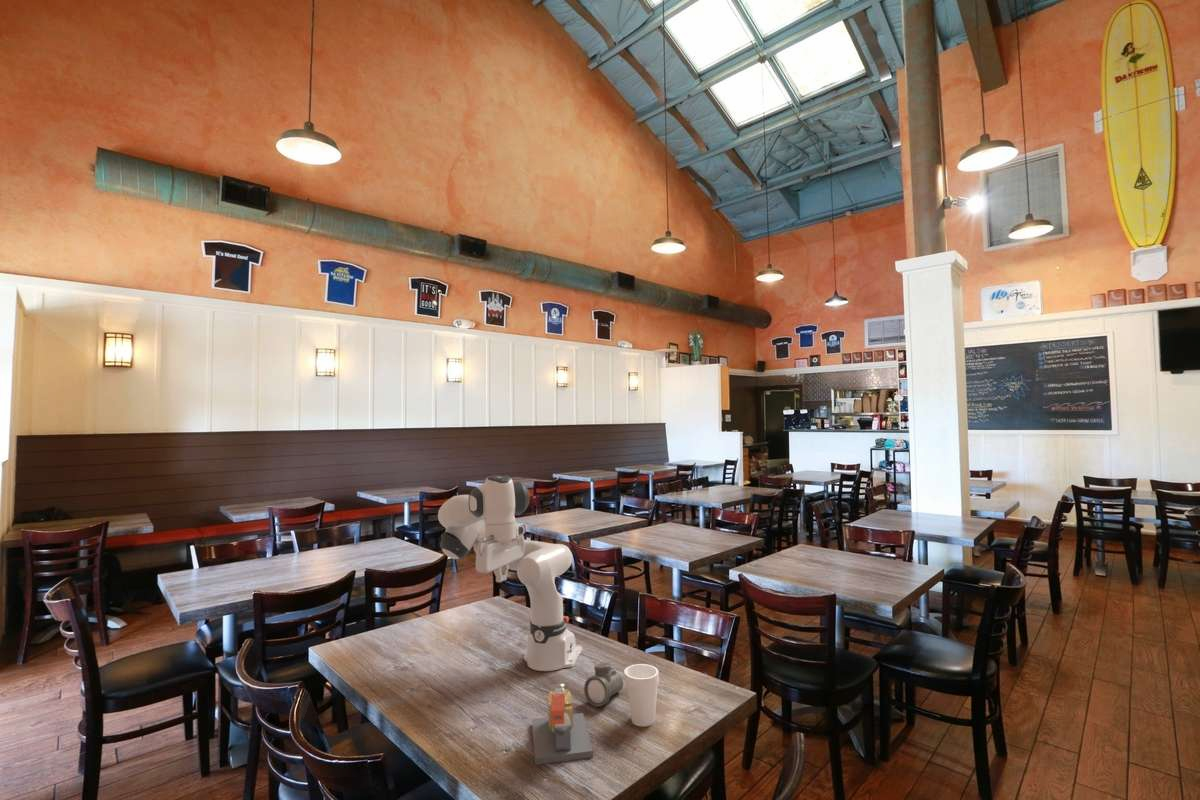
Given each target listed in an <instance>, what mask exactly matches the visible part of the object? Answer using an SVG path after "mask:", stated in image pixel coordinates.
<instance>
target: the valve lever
mask: <svg viewBox="0 0 1200 800" xmlns="http://www.w3.org/2000/svg"><path fill="white" fill-rule="evenodd" d="M553 689H554V690H555V694H552V704H551V725H552V724H564V716H565V694H563V691H564V690H566V683H565V682H563V681H556V682H555V683H554V685H553Z"/></svg>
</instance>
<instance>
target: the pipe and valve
mask: <svg viewBox="0 0 1200 800" xmlns="http://www.w3.org/2000/svg"><path fill="white" fill-rule="evenodd" d="M552 694H555V690H554V688H553V689H552V690H550V691H548V693H547V694H546V695H547V717H548V721H549V729H550V730H552V732H555V747H556V752H563V751H571V734H570V730H573V728H572V727H573V714H574V708H573V707H574V703H573V698H572V694H571V691H570V690H569V689H565V690H564V691H563V694H565V716H564V724H552V725H551V704H552Z"/></svg>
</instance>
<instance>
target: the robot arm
mask: <svg viewBox="0 0 1200 800" xmlns="http://www.w3.org/2000/svg"><path fill="white" fill-rule="evenodd" d="M530 495H531V494H530V491H529V489H528V488H527V487H526V486H525V485H524V484H523V483H522V482H521V481H513V479H512V478H511V477H510V476H508V475H504V474H503V475H502V474H492V475H489V476H488V477H486V478H485V481H484V483H483V484H481V485H478V486H476V487H474V488H473V489H472V490H471V492H470V493H469V494H459V495H455V496H452V497H450V498H449V499H447V500H446V501H444V503H442V505H441V506H440V508H439V510H438V513H437V519H438V522H439V523H440V525H441V526H443V527H444V528H445V531H444V532H443V533H441V535H440V537H441V540H440V543H439V545H440V549H441V551H442V552H443V554H445V555H446V557H449V558H450V559H453V560H463V559H464V558H466V556H467V555H468V554H469V553H470V551H471V549H472V548H473V551H474V552H475V554H476V555H475V571H476V572H477V573H481V574H488V573H490V572H492V571H493V573H494V576H495V582H496V583H502V582H504V581H506V580H507V579H508V575H507V574H508V572H509V570H511V571H516V574H517V577H518V579H519V581H520V582H521V583H522V584H523V585H525V588H526V589H527V592H528V596H529V600H530V618H531V619H530V622H529V631H530V632H529V633H530V634H529V635H528V636H527V642H526V654H525V655H524V656H523V660H524V661H525V662H526V665H527V667H529V668H530V669H532V670H534V671H539V672H553V671H557V670H560V669H565V668H572V667H574V666H575V665H576V662H577V660H578V659H577V658H579V657H580V655H581V653H582V652H583V647H582V646H581V645H578V644H577V643H576V642H577V641H576V636H575V634H574V632H572V631H570V629H568V628H567V625H566V623H568V622H569V620H570V618H569V616H566V615H564V603H563V602H564V600H563V599H564V598H563V596H562V594H561V593H560V592H559V591H558V589H557V586H556V584H555V581H556V580H555V579H556V578H557V577H559V576H561V575H563V574H564V573H565V572H566V571H568V570H569V568H570V567H571V565H572V563H573V554H572V551H571V549H570V548H569V547H568V546H567V545H566V544H562V543H550V542H546V541H545V542H544V541H538V540H537V541H536V540H531V539H525V535H524V534H525V532H526V529H525V526H523V525H518V524H517V523H516V522H517V519H516V517H515V515H522V514H523V513H525V511H526V510H527V508H528V506H529V505H530V501H531V500H530V498H531V496H530ZM581 651H582V652H581ZM579 654H580V655H579ZM578 656H579V657H578Z"/></svg>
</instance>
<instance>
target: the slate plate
mask: <svg viewBox="0 0 1200 800" xmlns="http://www.w3.org/2000/svg"><path fill="white" fill-rule="evenodd" d="M531 723H532V724H531V726H532V740H533V741H532V743H533V752H534V753H533V755H534V766H536V765H537V766H538V765H544V764H552V763H559V762H566V761H567V762H568V761H575V760H581V759H590V758H594V754H593V752H594V750H593V747H592V743H591V739H590V735H589V731H588V727H587V724H586V719H585V715H584V712H581V713H580V712H579V713H573V727H572V728H573V730H570V734H571V751H563V752H556V747H555V732H552V730H550V729H549V721H548V716H547V717H538V718H537V717H536V718H532V719H531Z"/></svg>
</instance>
